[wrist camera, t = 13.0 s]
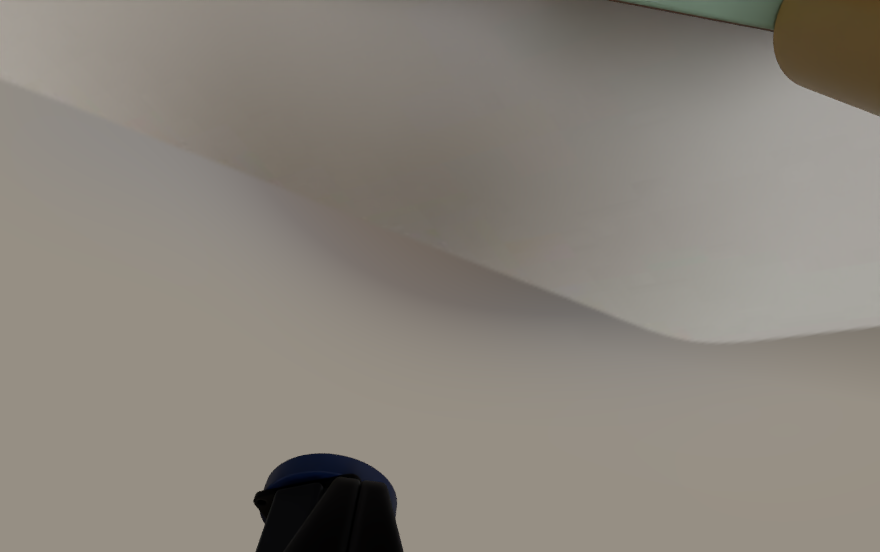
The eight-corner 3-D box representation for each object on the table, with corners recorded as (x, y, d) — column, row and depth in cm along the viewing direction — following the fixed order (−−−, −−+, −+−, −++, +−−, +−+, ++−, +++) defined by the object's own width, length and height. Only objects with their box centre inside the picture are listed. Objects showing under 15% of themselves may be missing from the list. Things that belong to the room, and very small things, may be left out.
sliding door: (800, 60, 16) (1249, 199, 7) (543, 12, 16) (662, 92, 6) (843, -30, 15) (1462, -6, 6) (566, -85, 14) (753, -155, 5)
